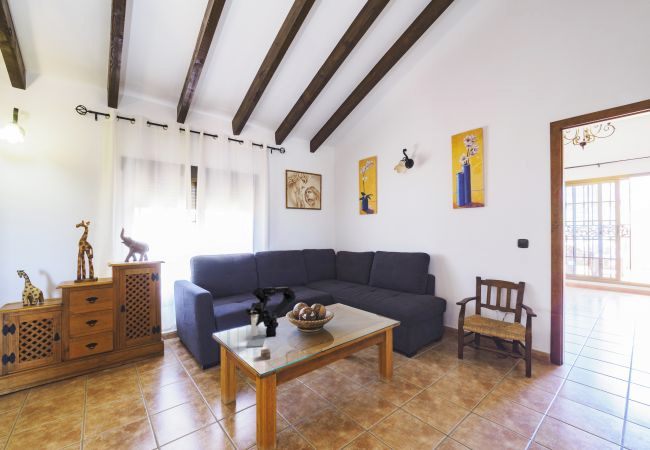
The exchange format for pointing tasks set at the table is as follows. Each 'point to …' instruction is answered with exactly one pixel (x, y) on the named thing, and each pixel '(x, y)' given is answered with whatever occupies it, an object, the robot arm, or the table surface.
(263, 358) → the walnut block
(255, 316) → the jar
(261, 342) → the slate tile
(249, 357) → the table surface
